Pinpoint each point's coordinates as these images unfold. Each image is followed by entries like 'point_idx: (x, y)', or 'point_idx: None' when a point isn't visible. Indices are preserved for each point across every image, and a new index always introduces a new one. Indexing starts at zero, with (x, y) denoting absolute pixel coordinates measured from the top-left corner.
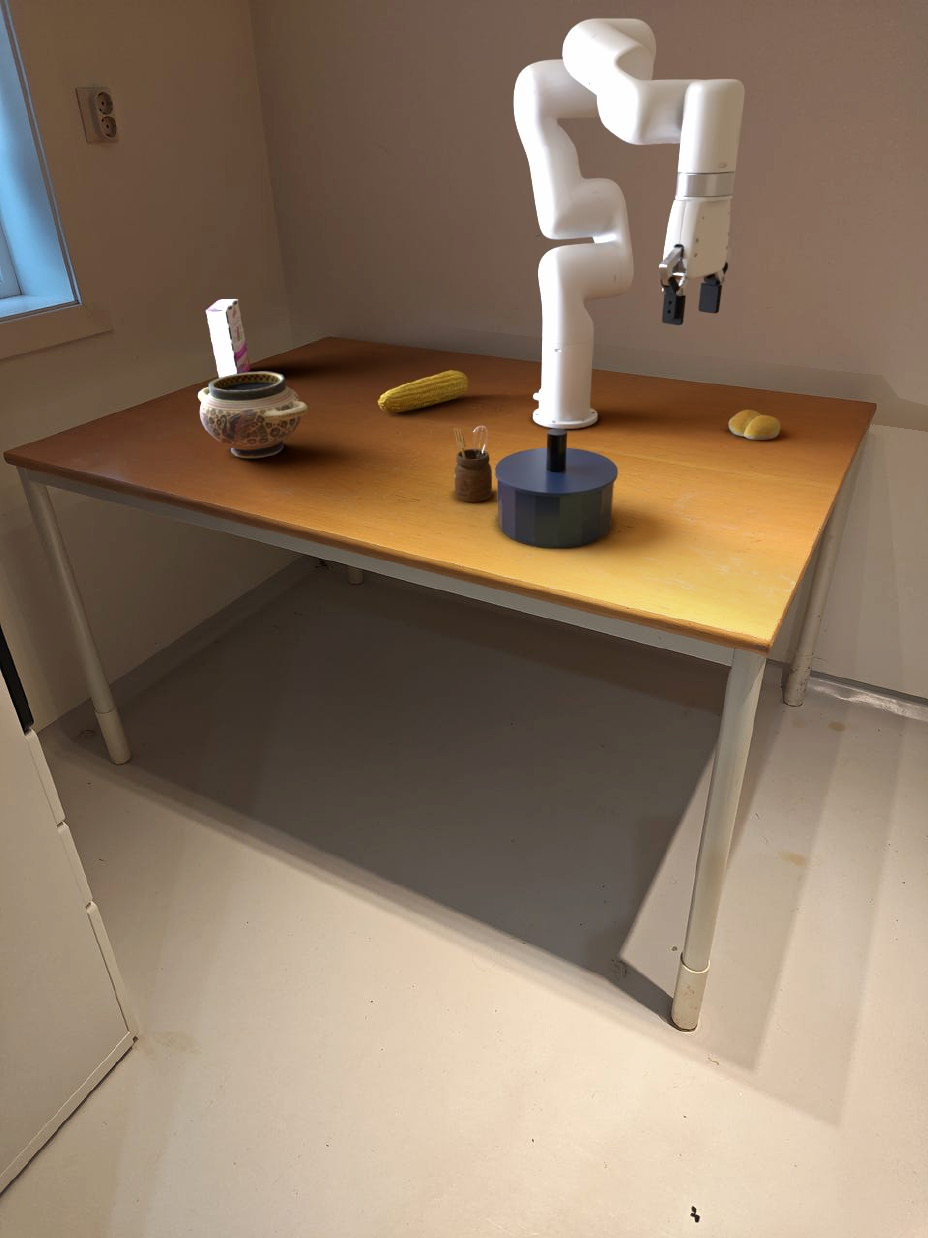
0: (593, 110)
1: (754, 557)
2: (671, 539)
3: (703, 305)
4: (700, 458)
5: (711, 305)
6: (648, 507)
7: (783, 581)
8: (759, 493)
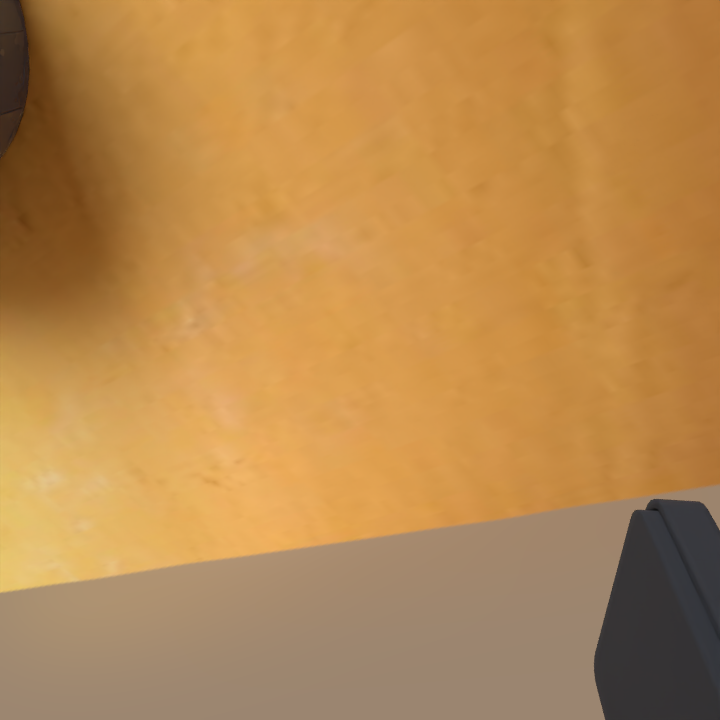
0: None
1: (139, 503)
2: (62, 341)
3: (644, 600)
4: (673, 99)
5: (623, 689)
6: (169, 191)
7: (99, 569)
8: (475, 384)
